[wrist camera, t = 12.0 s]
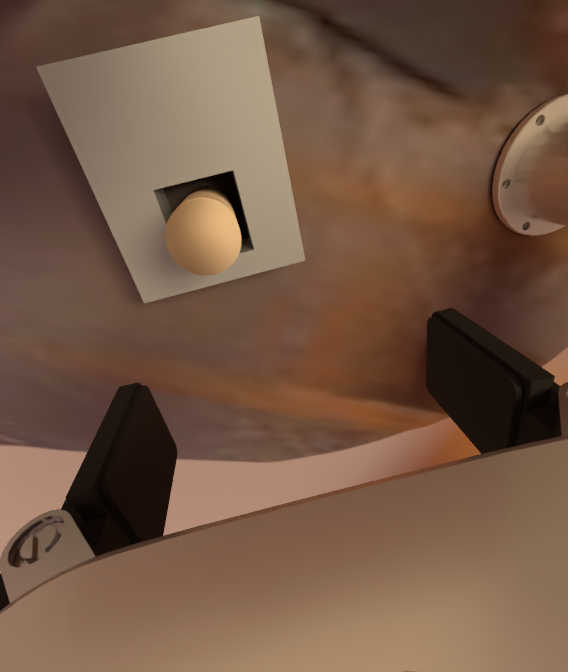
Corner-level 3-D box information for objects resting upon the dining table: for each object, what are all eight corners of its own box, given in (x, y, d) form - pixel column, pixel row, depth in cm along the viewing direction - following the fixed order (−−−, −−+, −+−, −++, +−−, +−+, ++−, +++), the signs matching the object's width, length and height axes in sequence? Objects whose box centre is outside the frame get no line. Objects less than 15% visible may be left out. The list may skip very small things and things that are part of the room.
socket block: (251, 40, 26) (258, 16, 21) (293, 247, 33) (305, 260, 29) (68, 83, 25) (35, 66, 20) (154, 284, 33) (144, 303, 28)
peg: (225, 180, 30) (229, 190, 19) (239, 231, 32) (249, 265, 21) (176, 193, 29) (152, 210, 19) (193, 242, 31) (181, 283, 21)
